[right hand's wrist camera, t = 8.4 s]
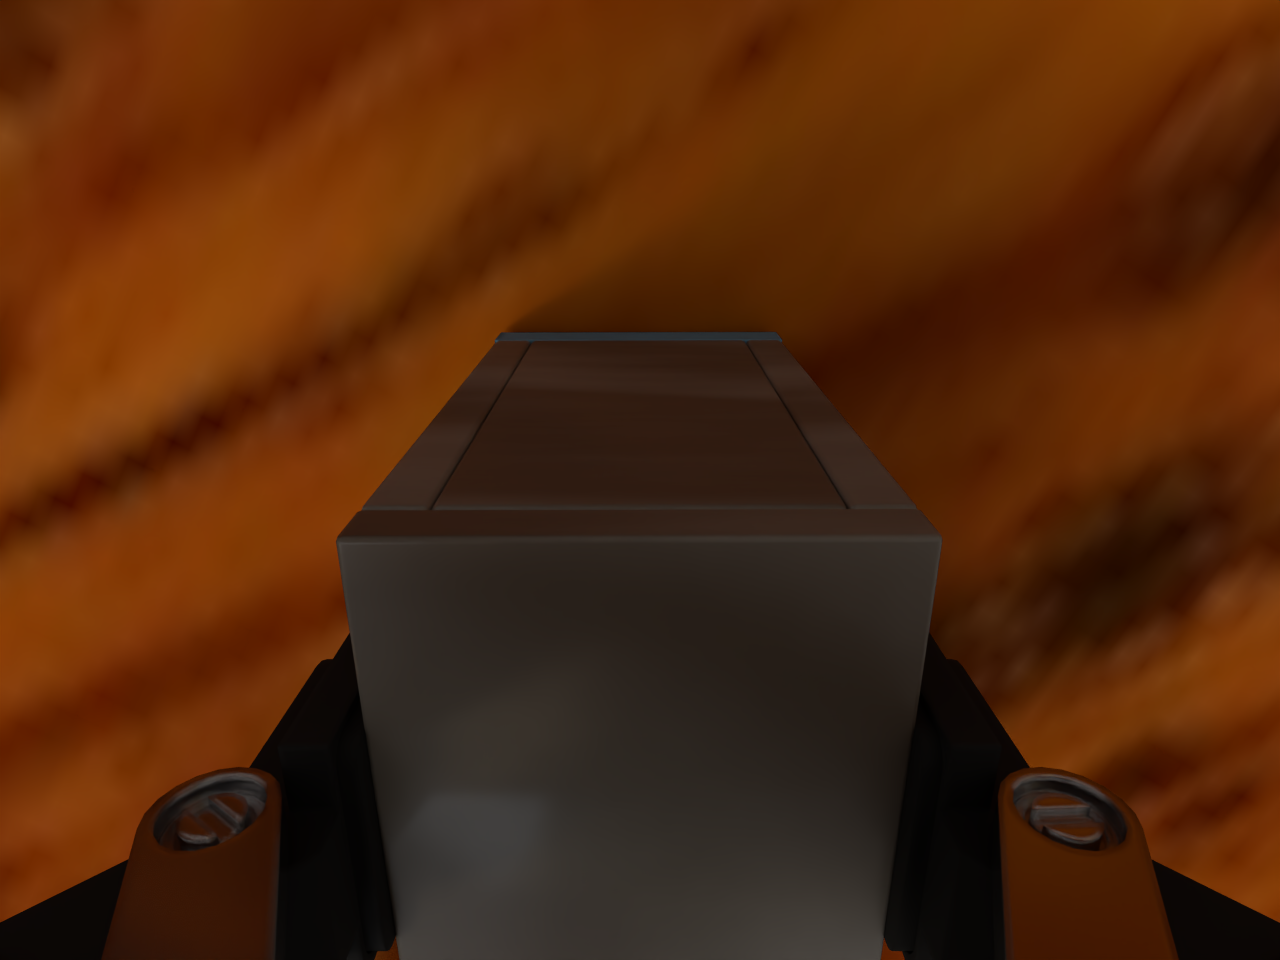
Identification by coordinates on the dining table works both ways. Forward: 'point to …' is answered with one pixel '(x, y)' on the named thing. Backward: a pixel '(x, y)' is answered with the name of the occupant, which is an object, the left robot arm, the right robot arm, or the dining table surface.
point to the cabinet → (639, 658)
